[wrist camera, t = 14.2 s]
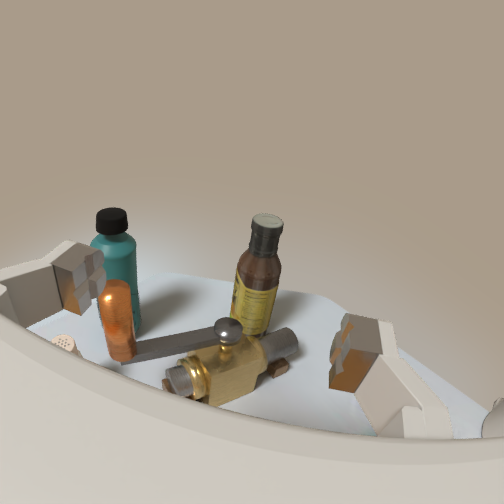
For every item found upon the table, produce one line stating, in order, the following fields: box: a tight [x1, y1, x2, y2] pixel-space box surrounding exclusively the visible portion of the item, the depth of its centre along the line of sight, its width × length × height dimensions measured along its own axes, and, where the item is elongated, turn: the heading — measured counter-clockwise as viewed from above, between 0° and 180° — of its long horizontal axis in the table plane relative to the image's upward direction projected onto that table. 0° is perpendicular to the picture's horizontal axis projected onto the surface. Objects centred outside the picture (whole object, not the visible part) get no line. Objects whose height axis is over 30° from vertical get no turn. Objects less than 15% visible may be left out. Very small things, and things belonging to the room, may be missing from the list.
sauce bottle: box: [230, 214, 284, 338], centre depth 46 cm, size 6×6×20 cm
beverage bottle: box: [90, 208, 141, 332], centre depth 41 cm, size 6×7×20 cm
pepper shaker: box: [51, 334, 83, 358], centre depth 32 cm, size 4×4×10 cm
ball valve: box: [162, 327, 298, 407], centre depth 39 cm, size 18×6×10 cm, turn 124°
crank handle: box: [98, 279, 243, 365], centre depth 31 cm, size 15×3×9 cm, turn 118°
